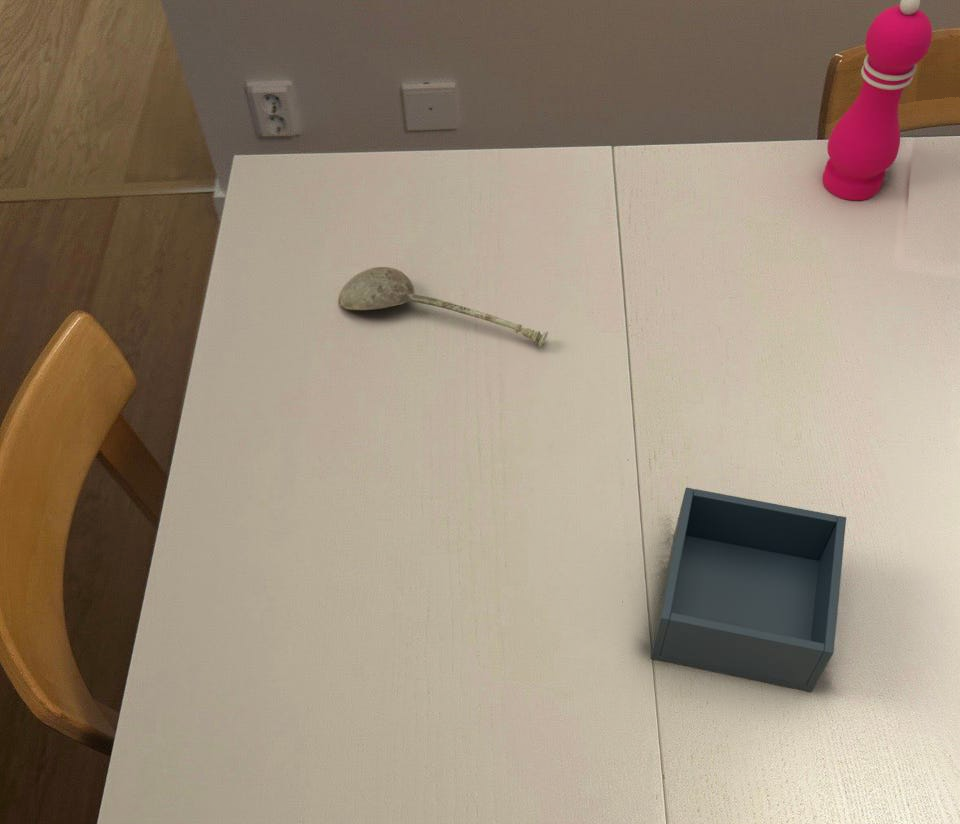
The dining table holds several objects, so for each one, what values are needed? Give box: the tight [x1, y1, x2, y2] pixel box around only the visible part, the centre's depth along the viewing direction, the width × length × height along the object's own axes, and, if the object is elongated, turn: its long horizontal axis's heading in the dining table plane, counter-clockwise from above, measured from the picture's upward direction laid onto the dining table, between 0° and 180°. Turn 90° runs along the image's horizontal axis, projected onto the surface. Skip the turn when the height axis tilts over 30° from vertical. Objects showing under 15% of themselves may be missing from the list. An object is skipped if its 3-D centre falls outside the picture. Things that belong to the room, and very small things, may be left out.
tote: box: [649, 487, 847, 693], centre depth 85 cm, size 13×13×6 cm
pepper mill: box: [822, 0, 933, 201], centre depth 107 cm, size 7×7×20 cm
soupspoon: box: [338, 266, 549, 349], centre depth 105 cm, size 22×3×7 cm
